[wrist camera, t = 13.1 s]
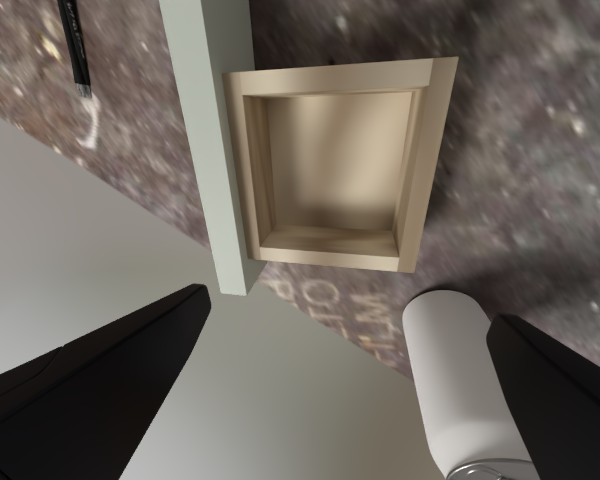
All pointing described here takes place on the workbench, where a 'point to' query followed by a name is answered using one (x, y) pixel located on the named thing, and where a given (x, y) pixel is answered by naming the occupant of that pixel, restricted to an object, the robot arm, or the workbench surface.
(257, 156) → the wooden drawer box
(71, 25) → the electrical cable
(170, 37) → the panel
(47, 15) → the workbench surface
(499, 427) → the can
